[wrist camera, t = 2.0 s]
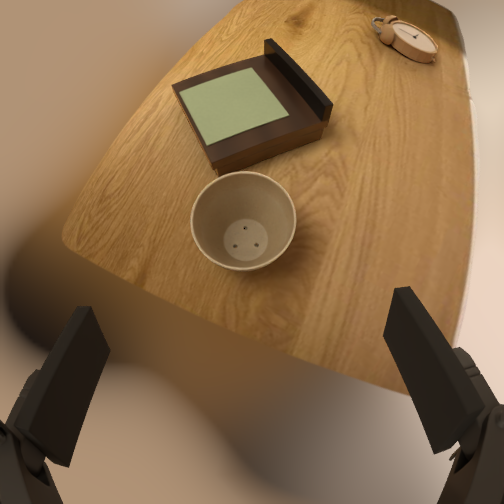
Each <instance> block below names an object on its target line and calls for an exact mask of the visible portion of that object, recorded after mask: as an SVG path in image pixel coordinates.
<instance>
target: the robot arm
mask: <svg viewBox="0 0 504 504" xmlns="http://www.w3.org/2000/svg"><path fill="white" fill-rule="evenodd" d="M383 337H384V339H385V341H386V343H387V345H388V347H389V349H390V352H391V354H392V356H393V358H394V360H395V362H396V364H397V367H398V369H399V371H400V373H401V375H402V378H403V380H404V382H405V384H406V387H407V389H408V391H409V394H410V396H411V398H412V401H413V403H414V405H415V408H416V410H417V412H418V415H419V417H420V420H421V422H422V425H423V427H424V430H425V432H426V435H427V437H428V440H429V443H430V445H431V448H432V450H433V453H434V454H437V453H439V452H442V451H445V450H447V449H450V448H451V447H452V446H453V445H454V444H455V443H456V442H457V441H458V442H459V444H460V447H459V448H458V449H457V450H456V451H455V452H454V453H453V454H452V456H451V457H450V459H449V460H450V461H451V460H452V459H453V458H454V457H455V456H456V457H455V459H454V462H453V465H452V468H451V471H450V473H449V476H448V478H447V481H446V484H445V486H444V488H443V491H442V493H441V496H440V498H439V500H438V502H437V504H504V405H502V404H499V402H498V401H497V399H496V398H495V396H494V394H493V392H492V391H491V389H490V387H489V386H488V384H487V382H486V380H485V379H484V377H483V375H482V374H480V371H479V369H478V367H476V365H475V363H474V361H473V360H472V358H471V356H470V355H469V354H468V353H467V352H465V351H464V350H463V349H462V348H460V347H458V348H454V349H452V348H451V346H450V345H449V343H448V342H447V340H446V339H445V337H444V335H443V334H442V332H441V331H440V329H439V328H438V326H437V325H436V323H435V322H434V320H433V319H432V317H431V316H430V315H429V313H428V312H427V310H426V309H425V307H424V306H423V304H422V303H421V302H420V300H419V299H418V297H417V296H416V295H415V293H414V292H413V290H412V289H411V288H410V286H408V287H400V288H394V293H393V297H392V302H391V306H390V310H389V314H388V318H387V322H386V326H385V330H384V333H383ZM109 353H110V348H109V346H108V344H107V342H106V340H105V338H104V335H103V333H102V331H101V329H100V327H99V324H98V322H97V320H96V317H95V315H94V313H93V310H92V308H91V306H83V307H82V306H78V307H77V308H76V310H75V311H74V313H73V314H72V316H71V318H70V319H69V321H68V323H67V324H66V326H65V327H64V329H63V331H62V332H61V334H60V336H59V337H58V339H57V341H56V343H55V344H54V346H53V348H52V350H51V351H50V353H49V355H48V357H47V359H46V360H45V362H44V364H43V366H42V368H41V370H37V369H36V370H35V371H34V372H33V373H32V374H31V375H30V376H29V377H28V379H27V381H26V383H25V385H24V387H23V389H22V391H21V392H20V395H19V397H18V399H17V400H16V402H15V404H14V407H13V408H12V410H11V413H10V415H9V417H8V419H7V421H6V423H5V424H4V423H3V422H2V421H1V420H0V504H63V502H62V500H61V497H60V495H59V493H58V491H57V488H56V486H55V483H54V481H53V479H52V476H51V474H50V471H49V468H48V466H47V465H46V463H45V462H44V460H45V457H47V458H48V459H49V460H51V461H52V462H53V463H55V464H58V465H61V466H65V467H68V468H69V466H70V462H71V459H72V456H73V452H74V449H75V446H76V443H77V440H78V436H79V434H80V431H81V428H82V425H83V422H84V419H85V416H86V413H87V410H88V408H89V405H90V402H91V399H92V397H93V394H94V391H95V388H96V386H97V383H98V381H99V378H100V376H101V373H102V370H103V368H104V366H105V363H106V361H107V358H108V356H109Z"/></svg>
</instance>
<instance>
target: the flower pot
mask: <svg viewBox="0 0 504 504" xmlns="http://www.w3.org/2000/svg"><path fill="white" fill-rule="evenodd" d="M190 227H191V232H192V236H193V239H194V241H195V243H196V245H197V247H198V248H199V250H200V251H201V252H202V253H203V254H204V255H205V256H206V257H207V258H208V259H209V260H211V261H212V262H214V263H215V264H217V265H219V266H221V267H223V268H226V269H229V270H233V271H253V270H257V269H260V268H263V267H265V266H267V265H269V264H271V263H272V262H274V261H275V260H276V259H277V258H279V257H280V256H281V255H282V254H283V253H284V251H285V250H286V249H287V247H288V246H289V244H290V243H291V241H292V239H293V236H294V233H295V229H296V210H295V206H294V204H293V201H292V199H291V197H290V195H289V194H288V193H287V191H286V190H285V189H284V188H283V187H282V186H281V185H280V184H279V183H278V182H276V181H275V180H273V179H272V178H270V177H268V176H266V175H263V174H260V173H256V172H249V171H241V172H233V173H229V174H226V175H223V176H221V177H219V178H217V179H215V180H213V181H212V182H211V183H209V184H208V185H207V186H206V187H205V188H204V189H203V190H202V191H201V192H200V194H199V195H198V197H197V199H196V200H195V202H194V205H193V208H192V211H191V217H190ZM244 227H245V229H244ZM256 244H258V245H256ZM236 246H237V248H235V247H236Z"/></svg>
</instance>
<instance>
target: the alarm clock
mask: <svg viewBox="0 0 504 504" xmlns="http://www.w3.org/2000/svg"><path fill="white" fill-rule="evenodd" d="M375 21H380V22H382V27H381V28H380V29H379V28H378V27H377V26H376V25H375V24H374V22H375ZM371 25H372V27H373V28H374V29H375V30H376V31H377V32H378V33H379V37H380V40H381V41H382V42H383V43H385V44H387V45H389V44H391V45H392V46H393V47H394V48H395V49H397V50H398V51H399V52H400V53H402V54H404V55H405V56H407V57H409V58H411V59H413V60H415V61H418V62H422V63H429V62H431V61H434V62H436V61H435V59H434V58H433V57H434V56H435V54H436V53H437V51H438V47H437V44H436V43H435V41H434V40H433V39H432V38H431V37H430V36H429V35H428V34H427V33H425V32H424V31H423V30H421V29H419V28H418V27H416V26H414V25H412V24H410V23H407V22H404V21H398V18H397V17H395V16H387V17H386V18H374V19H373V20H372V22H371Z"/></svg>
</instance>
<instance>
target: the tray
mask: <svg viewBox="0 0 504 504" xmlns="http://www.w3.org/2000/svg"><path fill="white" fill-rule="evenodd" d="M172 89H173V92H174V94H175V96H176V98H177V100H178V102H179V104H180V106H181V108H182V110H183V112H184V114H185V116H186V118H187V120H188V122H189V124H190V126H191V128H192V130H193V132H194V134H195V136H196V138H197V140H198V142H199V144H200V146H201V148H202V150H203V152H204V154H205V156H206V157H207V159H208V161H209V163H210V165H211V167H212V169H213V170H215V171H216V173H217V175H218V177H221V176H223V175H226V174H229V173H233V172H236V171H238V170H241V169H243V168H246V167H248V166H250V165H253V164H255V163H258V162H260V161H263V160H265V159H268V158H271V157H273V156H276V155H278V154H281V153H283V152H286V151H289V150H291V149H294V148H297V147H300V146H302V145H305V144H308V143H310V142H313V141H316V140H319V139H321V137H322V133H323V129H324V128H326V127H327V125H328V122H329V118H330V115H331V111H332V107H333V103H332V102H331V101H330V100H329V98H328V97H327V96H326V95H325V94H324V93H323V91H322V90H321V89H320V88H319V87H318V86H317V85H316V84H315V83H314V81H313V80H312V79H311V78H310V77H309V76H308V75H307V74H306V73H305V72H304V71H303V70H302V68H301V67H300V66H299V65H298V64H297V63H296V62H295V61H294V60H293V59H292V58H291V57H290V56H289V55H288V54H287V53H286V52H285V51H284V50H283V49H282V48H281V47H280V46H279V45H278V44H277V43H276V42H275V41H274V40H273V39H272V38H270V39H266V40H264V55H261V56H257V57H253V58H250V59H246V60H243V61H239V62H236V63H233V64H229V65H226V66H223V67H220V68H217V69H214V70H211V71H208V72H205V73H202V74H199V75H197V76H194V77H191V78H188V79H186V80H183V81H181V82H178V83H176V84H173V85H172Z"/></svg>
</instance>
